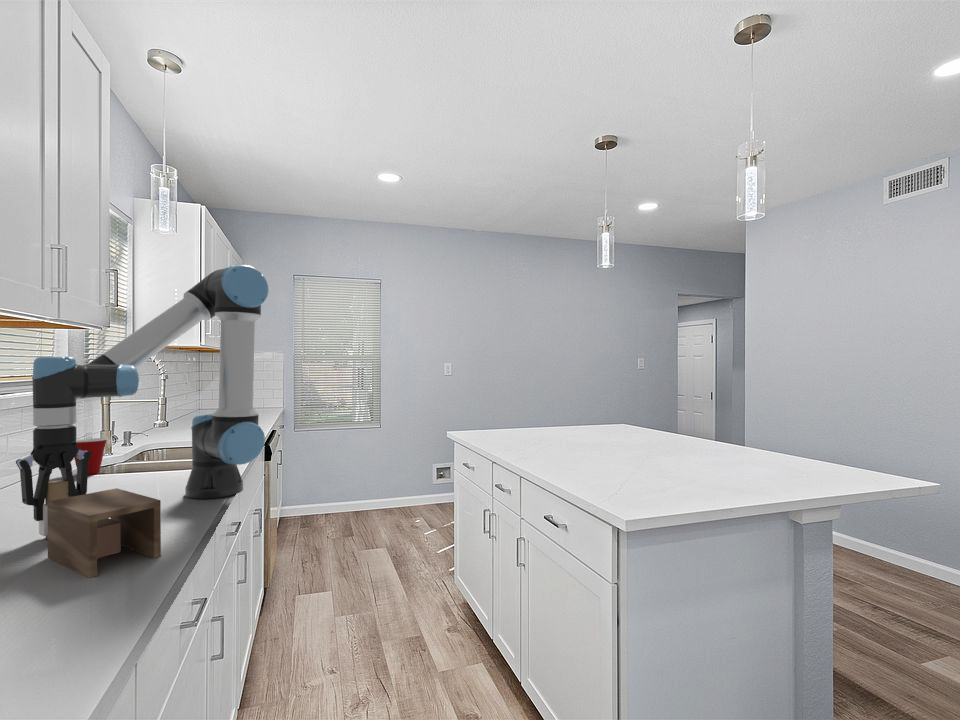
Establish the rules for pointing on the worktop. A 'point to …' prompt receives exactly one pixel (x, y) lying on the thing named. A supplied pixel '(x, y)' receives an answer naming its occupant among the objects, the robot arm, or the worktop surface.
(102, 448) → the plastic cup
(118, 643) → the worktop surface
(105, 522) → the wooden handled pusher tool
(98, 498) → the shelf lane
